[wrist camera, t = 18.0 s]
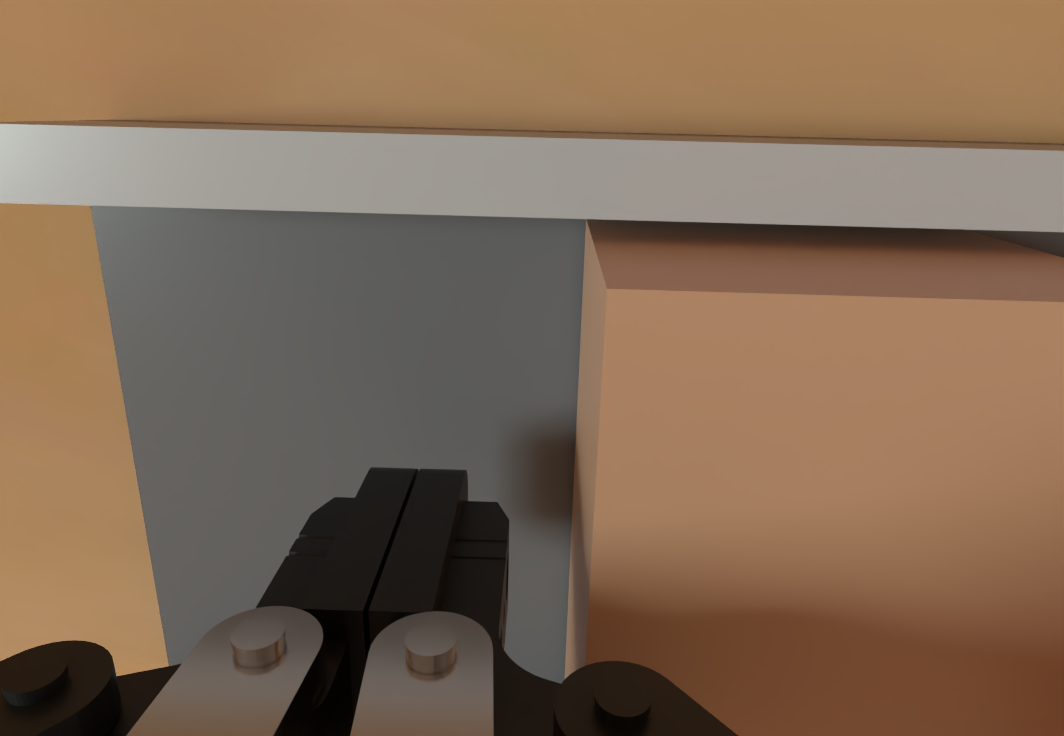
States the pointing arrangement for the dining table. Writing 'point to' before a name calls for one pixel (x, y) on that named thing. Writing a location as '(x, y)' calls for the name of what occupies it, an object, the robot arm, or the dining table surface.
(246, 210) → the tray
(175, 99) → the dining table surface
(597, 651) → the block
